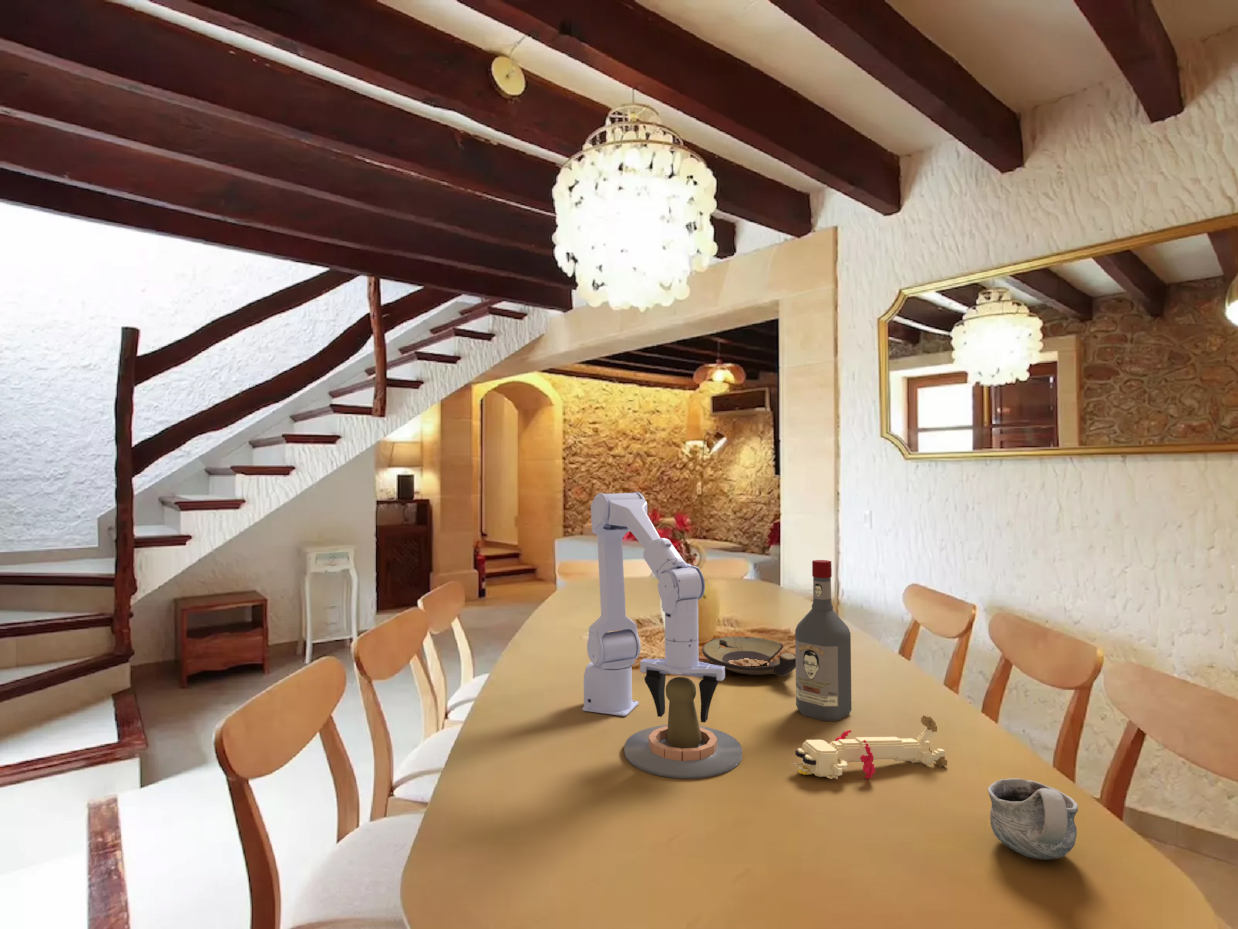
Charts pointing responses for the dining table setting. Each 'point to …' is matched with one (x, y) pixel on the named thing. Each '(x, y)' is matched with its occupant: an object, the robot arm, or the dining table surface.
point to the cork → (682, 714)
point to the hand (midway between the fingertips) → (682, 717)
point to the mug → (1033, 818)
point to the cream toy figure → (867, 752)
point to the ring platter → (683, 754)
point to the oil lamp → (749, 655)
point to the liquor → (823, 654)
